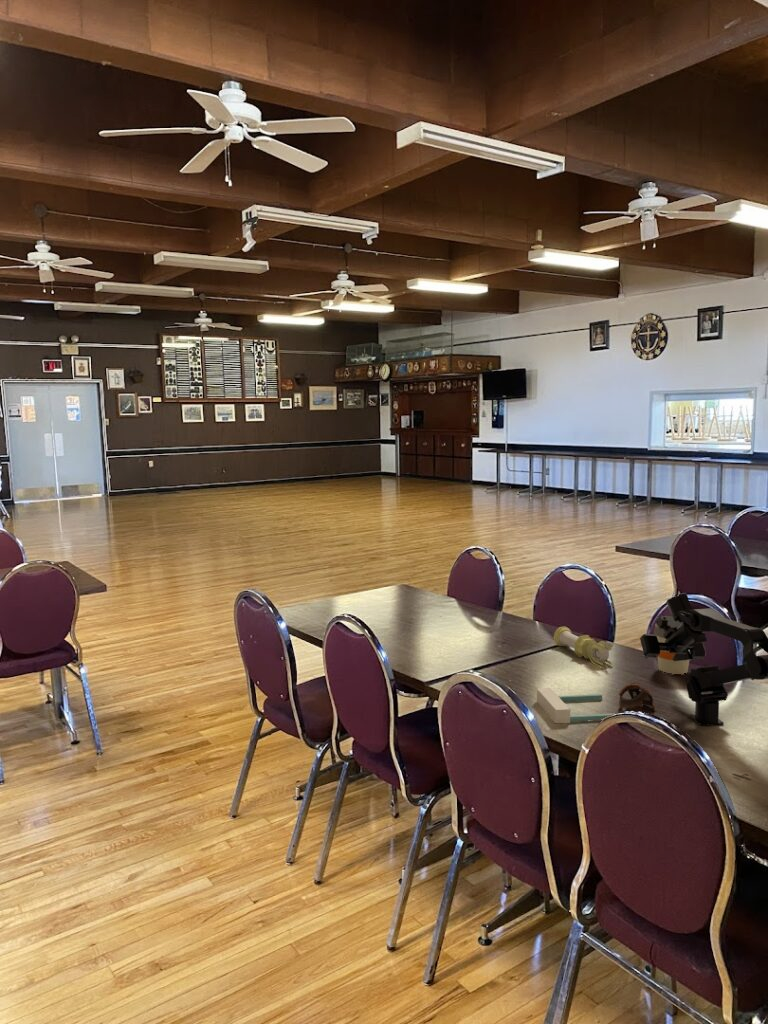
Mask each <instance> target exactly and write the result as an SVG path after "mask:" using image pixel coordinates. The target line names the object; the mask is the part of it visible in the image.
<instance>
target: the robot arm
mask: <svg viewBox="0 0 768 1024" xmlns="http://www.w3.org/2000/svg"><path fill="white" fill-rule="evenodd" d="M666 605H667V607H668V609H669V611H670V614H671V615H664V616H662V615H661V616H660V617H658V618H657V620H656V622H655V624H657V626H658V627H659V629H663V630H664V632H665V633H664V634H663V636H664V638H666V640H665V643H663V642H658V639H657V636H656V635H655V634H654V633H653V634H652V633H651V634H649V633H643V634H642V635H641V637H640V638H639V641H640V645H641V647H642V648H641V649H642V652H643V655H644V659H645V660H650V659H651V660H652V659H654V658H658V655H659V654H660V651H669V652H670V653H673V654H675V655H674V657H673V661H683V660H689V661H696V660H703V659H704V658H705V657H706V655H707V651H706V647H705V644H704V643H707V642H708V639H707V636H706V633H705V632H710V633H711V632H712V633H716V634H718V635H721V636H723V637H727V638H730V639H731V640H735V641H738V642H740V643H741V644H742V646H743V659H744V661H745V663H743V664H738V665H735V666H731V667H727V668H726V667H725V668H723V669H719V665H710V666H702V667H701V666H700V667H698V668H691V669H690V672H687V673H686V674H687V675H686V676H687V677H686V679H685V683H686V688H687V689H686V690H687V694H688V699H689V700H691V702H694V703H695V707H694V710H695V711H694V713H695V714H690V715H689V717H690V719H692V720H693V721H694V722H696V723H698V724H699V725H700V726H717V725H718V726H719V725H720V726H721V725H724V721H722V720H721V719H719V714H720V713H719V712H720V702H721V701H723V702H724V701H727V698H728V696H729V693H728V692H727V689H726V688H725V685H728V684H732V683H736V682H742V681H747V680H759V681H761V680H768V636H767V634H766V632H765V630H763V629H762V628H759V627H753V626H752V625H751V626H750V625H747V624H745V623H741V622H738V621H735V620H732V619H730V618H726V617H724V616H723V615H722V613H721V612H720V611H718V610H716V609H714V608H712V607H709V608H708V607H707V608H697V609H696V608H695V609H693V607H692V604H691V601H690V600H689V597H688V594H687V593H686V592H683V593H679V594H678V595H675V596H673V597H670V598H668V599H667V600H666ZM754 645H758V647H760V648H761V649H762V650H763V651H765V653H767V654H762V655H761V654H760V655H756V653H755V651H754Z"/></svg>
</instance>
